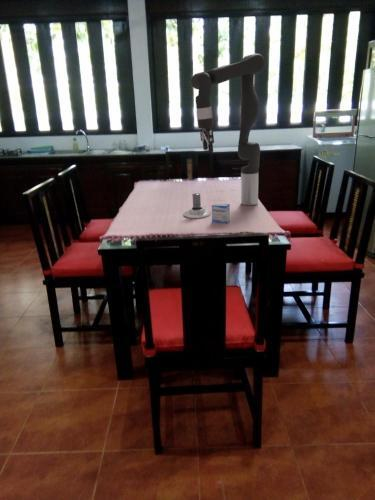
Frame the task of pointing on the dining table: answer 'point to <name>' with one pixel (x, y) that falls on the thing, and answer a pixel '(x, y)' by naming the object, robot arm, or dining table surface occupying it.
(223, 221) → the medicine box
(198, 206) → the steel pin
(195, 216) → the rosette plate
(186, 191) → the dining table surface
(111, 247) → the dining table surface
